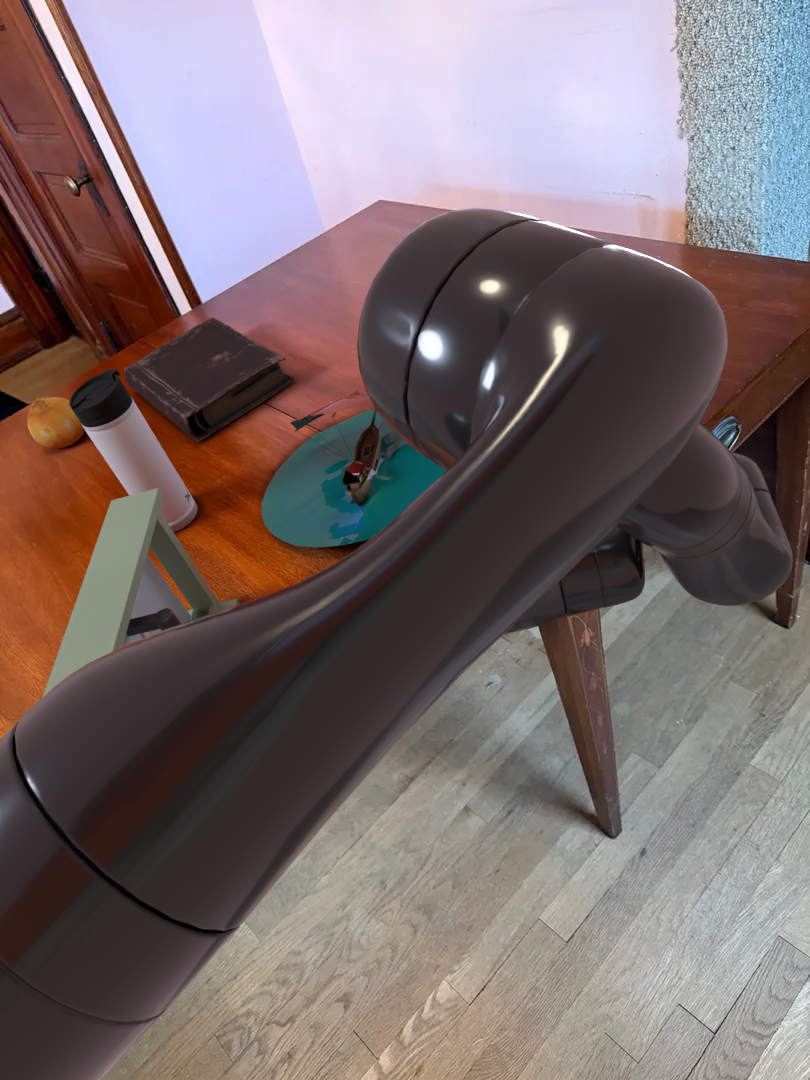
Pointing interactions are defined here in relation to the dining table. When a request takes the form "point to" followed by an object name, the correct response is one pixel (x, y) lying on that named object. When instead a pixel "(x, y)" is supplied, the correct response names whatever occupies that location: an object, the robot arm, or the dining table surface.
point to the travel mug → (131, 445)
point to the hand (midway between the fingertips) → (266, 637)
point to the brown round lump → (54, 423)
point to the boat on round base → (345, 480)
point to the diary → (207, 377)
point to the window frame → (130, 583)
